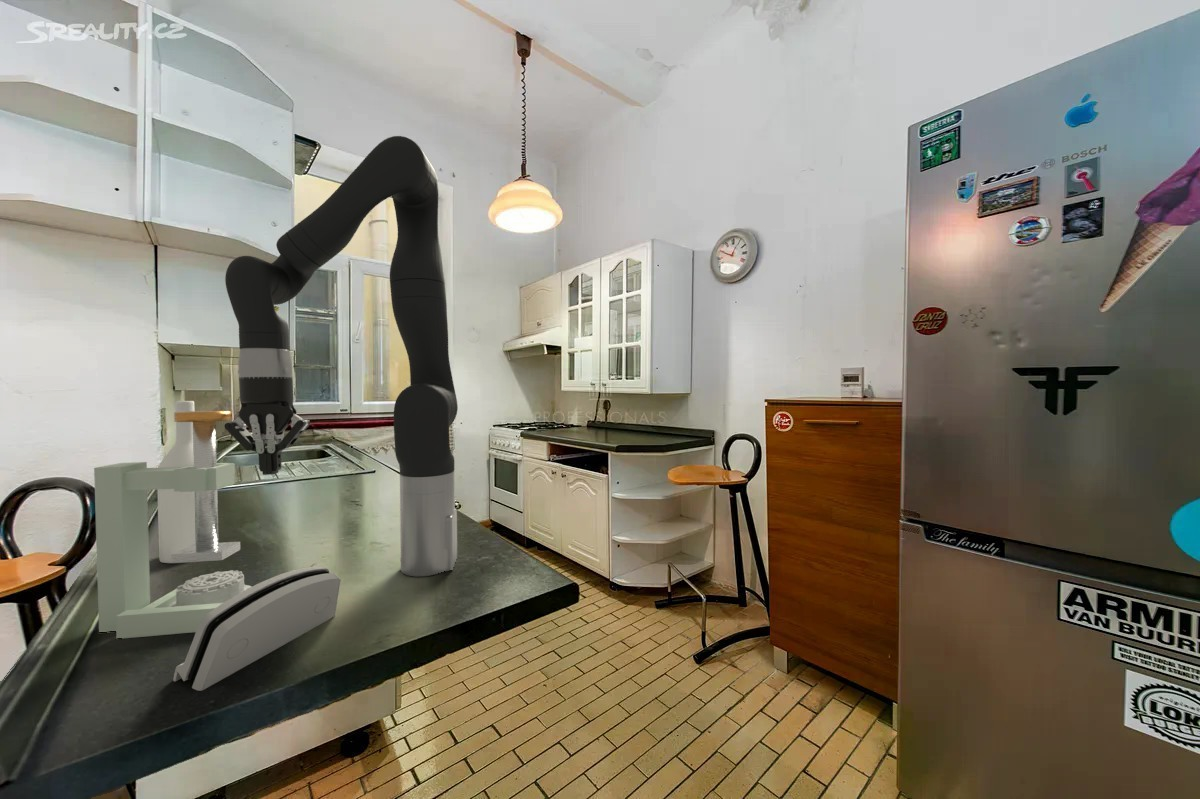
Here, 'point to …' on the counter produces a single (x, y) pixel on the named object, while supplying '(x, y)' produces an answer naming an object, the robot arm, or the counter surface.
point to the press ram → (205, 500)
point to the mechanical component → (210, 589)
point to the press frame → (141, 547)
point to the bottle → (177, 494)
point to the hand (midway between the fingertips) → (270, 473)
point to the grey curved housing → (258, 623)
